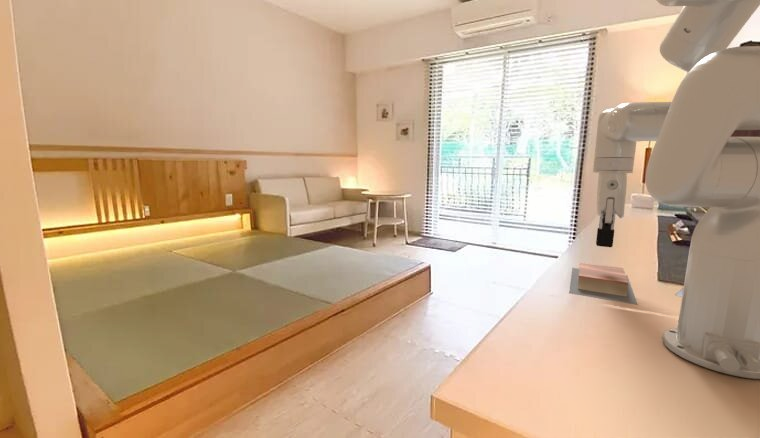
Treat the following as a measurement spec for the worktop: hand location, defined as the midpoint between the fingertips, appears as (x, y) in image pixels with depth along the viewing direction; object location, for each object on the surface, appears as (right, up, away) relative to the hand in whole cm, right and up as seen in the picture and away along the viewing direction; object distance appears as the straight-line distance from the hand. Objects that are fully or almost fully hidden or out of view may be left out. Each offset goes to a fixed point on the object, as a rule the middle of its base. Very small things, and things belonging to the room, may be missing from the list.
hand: (604, 245), depth 81 cm
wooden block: (+2, -7, +4) cm, 8 cm away
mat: (-1, -9, 0) cm, 9 cm away
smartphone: (+18, -11, -5) cm, 22 cm away
